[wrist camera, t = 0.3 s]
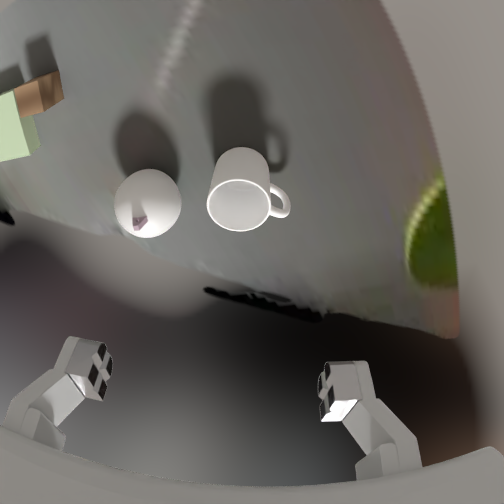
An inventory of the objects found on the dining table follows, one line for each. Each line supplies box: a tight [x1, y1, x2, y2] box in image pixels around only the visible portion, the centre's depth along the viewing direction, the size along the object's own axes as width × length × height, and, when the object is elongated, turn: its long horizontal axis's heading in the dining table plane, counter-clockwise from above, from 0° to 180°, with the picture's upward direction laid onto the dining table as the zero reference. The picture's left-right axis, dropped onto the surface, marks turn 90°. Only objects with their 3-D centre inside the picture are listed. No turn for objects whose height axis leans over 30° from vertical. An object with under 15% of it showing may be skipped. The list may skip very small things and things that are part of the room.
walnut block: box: [14, 70, 64, 118], centre depth 34 cm, size 5×5×6 cm
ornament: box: [114, 169, 181, 238], centre depth 45 cm, size 10×10×12 cm
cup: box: [207, 147, 290, 231], centre depth 45 cm, size 8×12×10 cm
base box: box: [0, 88, 41, 162], centre depth 38 cm, size 12×12×4 cm
